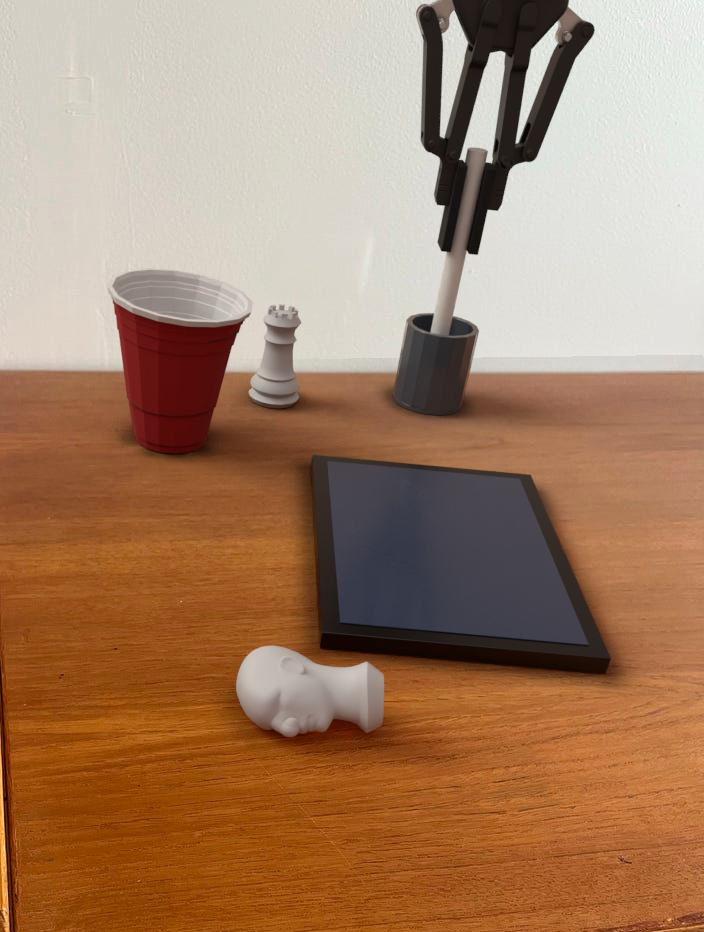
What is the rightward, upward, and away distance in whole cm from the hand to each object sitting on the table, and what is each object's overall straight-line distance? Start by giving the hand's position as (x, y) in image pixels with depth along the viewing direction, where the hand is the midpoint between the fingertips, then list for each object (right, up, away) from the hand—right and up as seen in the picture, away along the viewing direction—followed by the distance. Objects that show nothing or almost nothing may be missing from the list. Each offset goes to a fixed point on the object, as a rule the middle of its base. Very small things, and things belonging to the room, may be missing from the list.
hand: (457, 248), depth 86 cm
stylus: (-1, -7, +5) cm, 8 cm away
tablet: (-5, -27, -15) cm, 31 cm away
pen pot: (-1, -11, +8) cm, 13 cm away
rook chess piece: (-15, -12, +5) cm, 20 cm away
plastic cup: (-24, -17, -3) cm, 29 cm away
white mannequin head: (-15, -37, -31) cm, 50 cm away
